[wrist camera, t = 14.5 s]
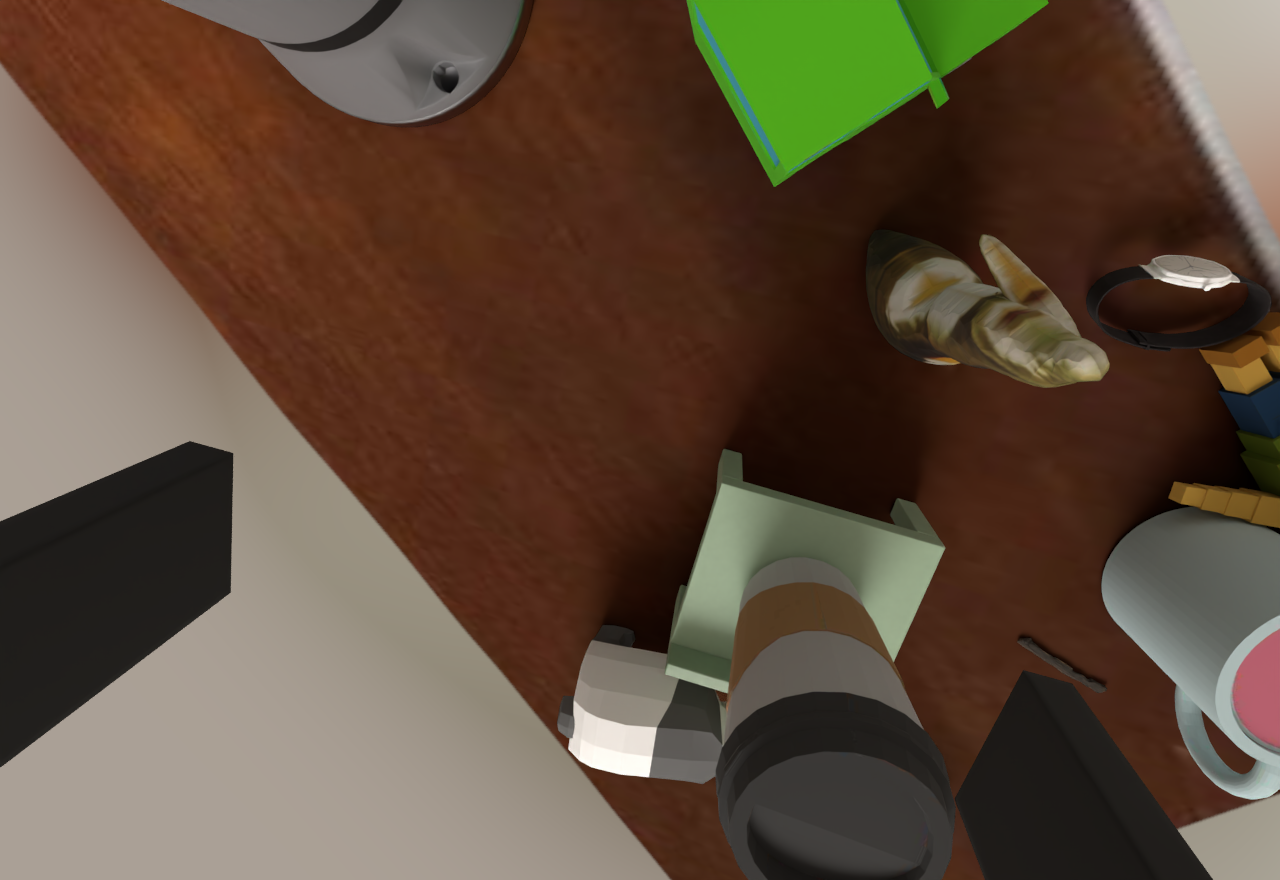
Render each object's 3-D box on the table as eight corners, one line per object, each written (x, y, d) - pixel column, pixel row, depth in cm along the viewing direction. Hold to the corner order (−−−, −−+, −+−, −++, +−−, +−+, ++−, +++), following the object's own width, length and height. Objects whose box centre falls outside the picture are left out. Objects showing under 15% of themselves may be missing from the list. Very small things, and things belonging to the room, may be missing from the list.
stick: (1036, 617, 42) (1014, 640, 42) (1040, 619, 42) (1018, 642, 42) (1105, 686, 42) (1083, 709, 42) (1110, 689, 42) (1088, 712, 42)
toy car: (1024, 53, 33) (1142, -21, 23) (782, 205, 36) (798, 195, 27) (932, -154, 31) (1018, -325, 22) (686, 28, 34) (667, -50, 25)
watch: (1255, 257, 34) (1310, 264, 30) (1224, 349, 35) (1273, 365, 32) (1089, 251, 35) (1125, 257, 32) (1067, 340, 37) (1099, 355, 33)
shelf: (723, 447, 41) (720, 496, 33) (916, 503, 40) (958, 565, 33) (676, 599, 44) (663, 674, 37) (852, 652, 44) (877, 739, 36)
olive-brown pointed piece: (916, 204, 35) (1125, 171, 17) (980, 329, 37) (1240, 431, 18) (831, 255, 37) (934, 280, 18) (896, 374, 38) (1056, 514, 19)
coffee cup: (840, 690, 38) (903, 965, 24) (700, 639, 38) (679, 881, 24) (904, 567, 35) (1018, 794, 21) (754, 513, 35) (766, 701, 21)
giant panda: (577, 681, 47) (540, 787, 38) (585, 613, 46) (548, 708, 36) (785, 721, 46) (797, 841, 37) (801, 653, 44) (818, 761, 35)
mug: (1120, 501, 38) (1247, 588, 29) (1300, 511, 37) (1494, 606, 28) (1071, 701, 42) (1168, 835, 33) (1232, 716, 41) (1380, 860, 32)
